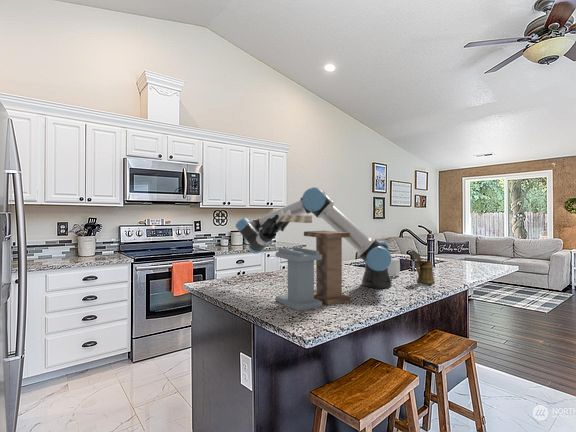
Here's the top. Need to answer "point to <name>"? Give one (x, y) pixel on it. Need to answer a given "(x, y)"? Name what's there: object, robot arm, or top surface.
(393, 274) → the cup
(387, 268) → the robot arm
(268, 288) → the top surface
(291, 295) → the low bracket
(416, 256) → the wooden mug
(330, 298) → the tall bracket
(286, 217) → the rail
